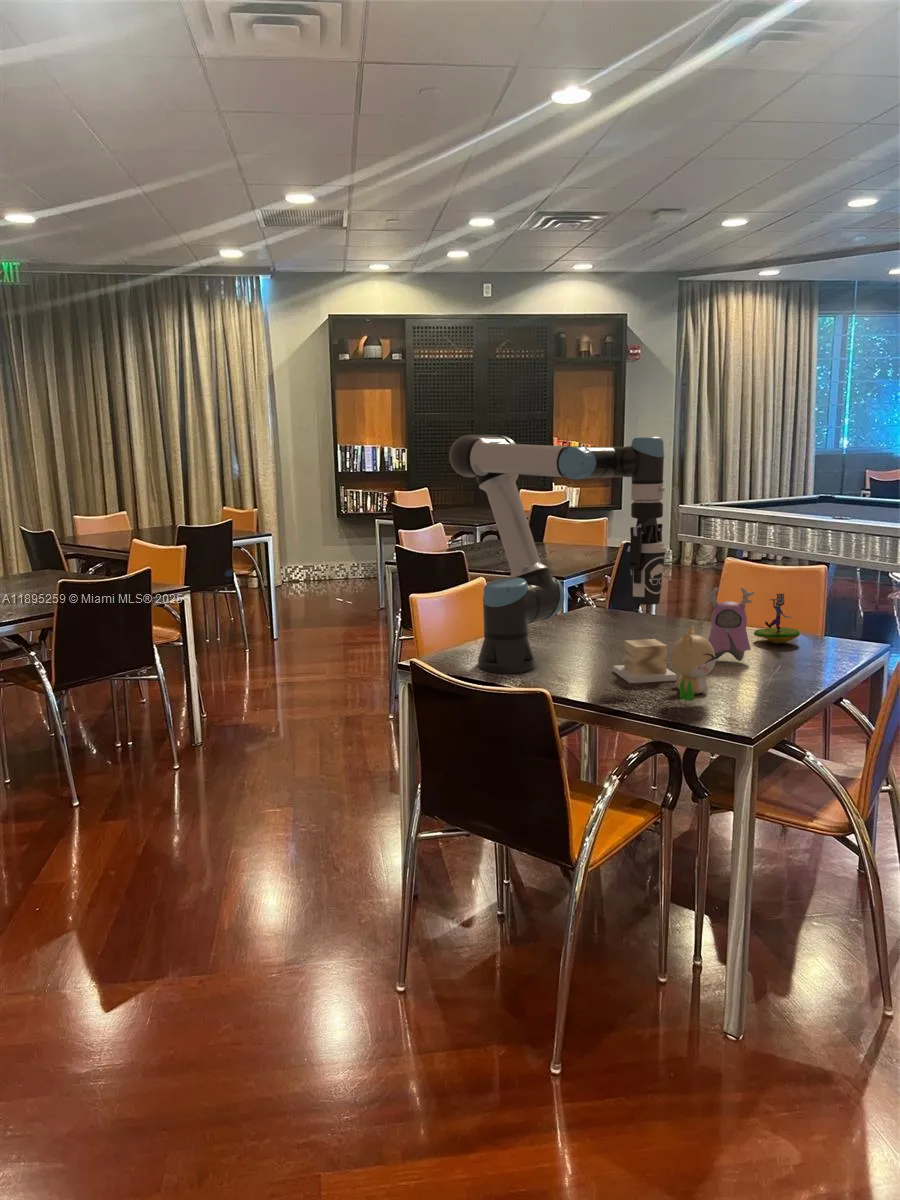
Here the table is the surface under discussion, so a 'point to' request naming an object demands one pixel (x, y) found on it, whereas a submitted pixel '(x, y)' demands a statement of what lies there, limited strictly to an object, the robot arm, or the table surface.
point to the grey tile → (643, 676)
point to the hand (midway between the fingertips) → (645, 593)
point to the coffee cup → (651, 573)
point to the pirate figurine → (779, 632)
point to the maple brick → (645, 656)
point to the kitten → (692, 664)
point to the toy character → (729, 626)
